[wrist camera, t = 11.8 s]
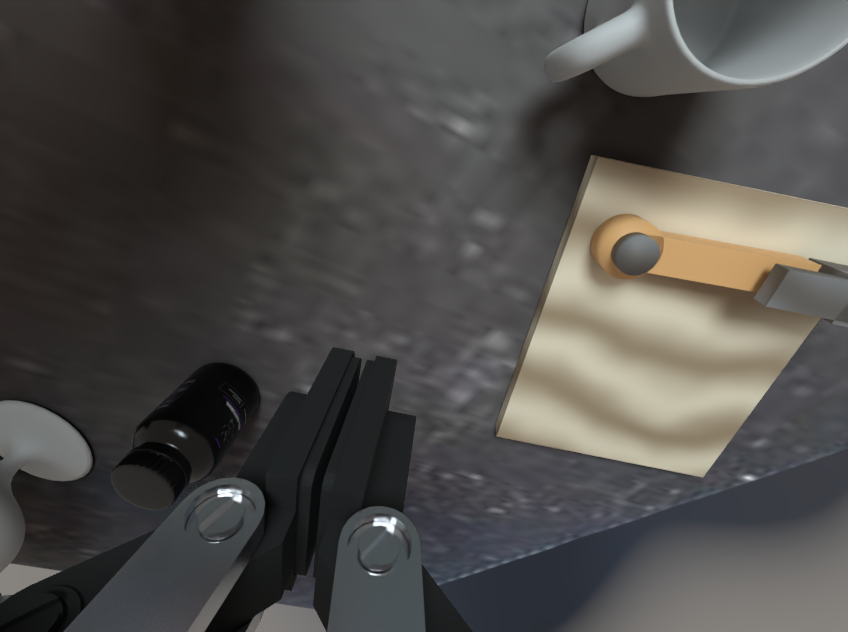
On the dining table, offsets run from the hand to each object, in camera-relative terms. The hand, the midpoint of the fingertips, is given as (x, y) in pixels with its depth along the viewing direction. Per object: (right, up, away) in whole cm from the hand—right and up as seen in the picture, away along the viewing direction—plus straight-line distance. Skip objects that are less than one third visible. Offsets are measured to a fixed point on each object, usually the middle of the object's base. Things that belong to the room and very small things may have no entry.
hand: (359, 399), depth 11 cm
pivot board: (+21, 0, +23) cm, 31 cm away
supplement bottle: (-18, -5, +29) cm, 35 cm away
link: (+20, +6, +18) cm, 28 cm away
